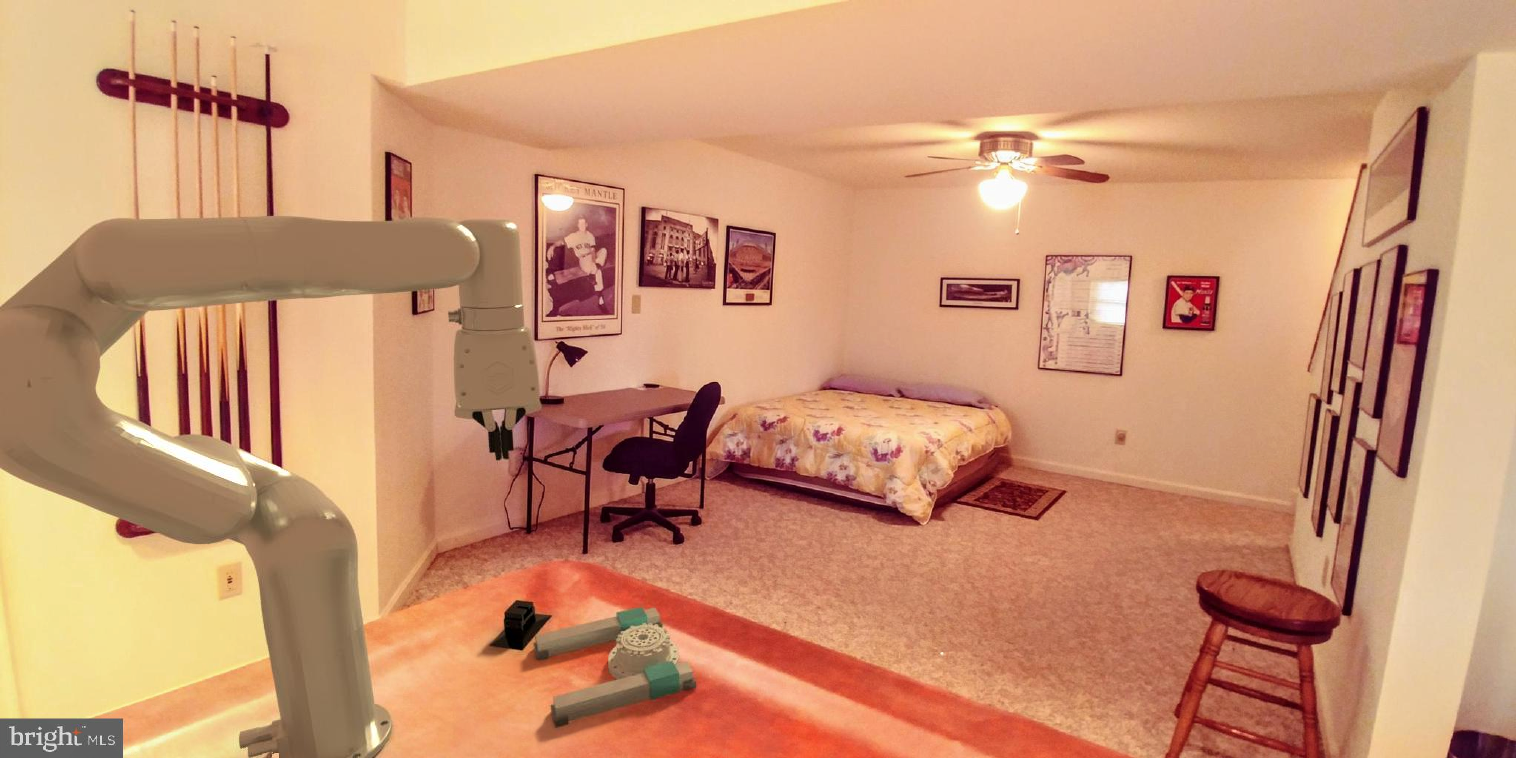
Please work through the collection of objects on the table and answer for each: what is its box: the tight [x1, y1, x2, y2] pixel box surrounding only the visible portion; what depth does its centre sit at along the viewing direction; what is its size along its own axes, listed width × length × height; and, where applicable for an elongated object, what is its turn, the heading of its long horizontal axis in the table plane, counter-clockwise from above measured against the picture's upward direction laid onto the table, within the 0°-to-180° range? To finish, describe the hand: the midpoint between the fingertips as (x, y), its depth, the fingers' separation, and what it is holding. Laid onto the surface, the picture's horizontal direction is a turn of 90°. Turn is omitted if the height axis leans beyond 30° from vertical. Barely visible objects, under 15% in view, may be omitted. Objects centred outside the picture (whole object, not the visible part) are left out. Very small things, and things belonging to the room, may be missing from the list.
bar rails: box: [532, 606, 697, 729], centre depth 103 cm, size 19×18×3 cm
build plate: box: [488, 599, 553, 652], centre depth 111 cm, size 12×7×5 cm, turn 169°
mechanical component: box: [607, 623, 680, 680], centre depth 104 cm, size 10×4×10 cm
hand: (501, 456), depth 97 cm, fingers closed
